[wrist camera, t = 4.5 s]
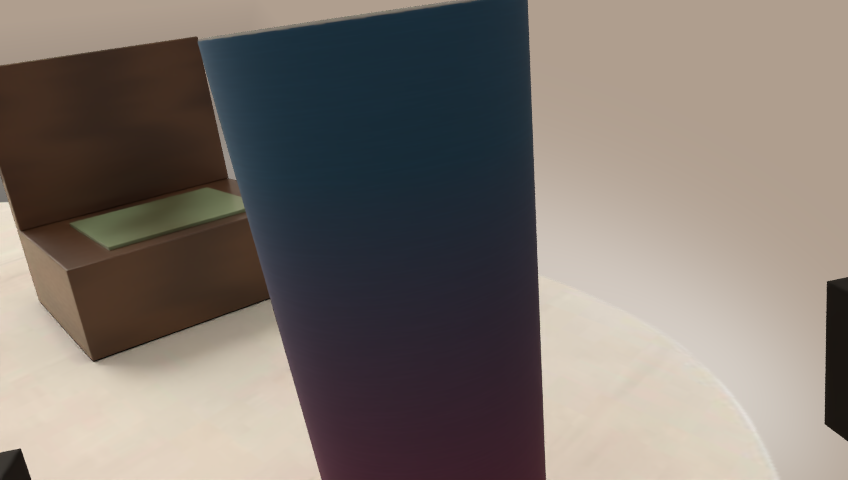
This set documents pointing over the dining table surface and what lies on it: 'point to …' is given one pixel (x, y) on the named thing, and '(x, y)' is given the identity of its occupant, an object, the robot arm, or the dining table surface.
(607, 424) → the dining table surface
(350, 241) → the cup
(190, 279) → the open wooden box
